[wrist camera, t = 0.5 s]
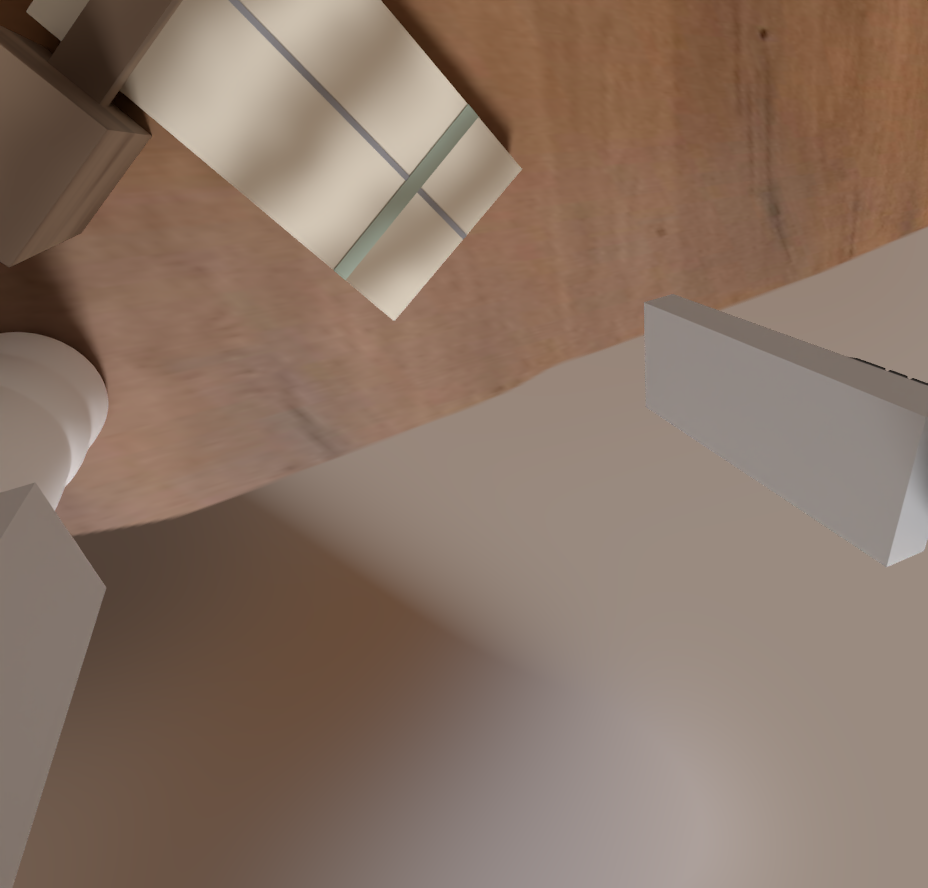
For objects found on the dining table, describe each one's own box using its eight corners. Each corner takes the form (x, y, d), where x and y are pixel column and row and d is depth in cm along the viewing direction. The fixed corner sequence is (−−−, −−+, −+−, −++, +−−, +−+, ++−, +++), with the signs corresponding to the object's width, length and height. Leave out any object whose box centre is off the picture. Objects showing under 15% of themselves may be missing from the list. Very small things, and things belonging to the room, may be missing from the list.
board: (41, 20, 25) (25, 11, 24) (192, -205, 24) (187, -233, 22) (387, 312, 35) (394, 321, 34) (508, 168, 34) (522, 169, 32)
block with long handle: (-31, 155, 27) (-166, 158, 18) (149, -112, 25) (93, -249, 16) (81, 233, 29) (9, 267, 21) (252, -3, 27) (251, -73, 19)
